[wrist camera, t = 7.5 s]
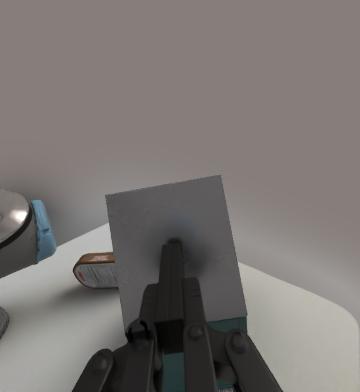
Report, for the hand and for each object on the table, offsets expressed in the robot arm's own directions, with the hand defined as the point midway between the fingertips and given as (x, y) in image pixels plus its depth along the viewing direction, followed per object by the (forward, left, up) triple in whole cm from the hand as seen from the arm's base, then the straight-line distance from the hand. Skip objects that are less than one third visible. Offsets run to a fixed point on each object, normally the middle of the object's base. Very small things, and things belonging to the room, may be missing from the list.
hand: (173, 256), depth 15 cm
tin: (-24, -7, -19) cm, 31 cm away
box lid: (-1, +1, -1) cm, 2 cm away
